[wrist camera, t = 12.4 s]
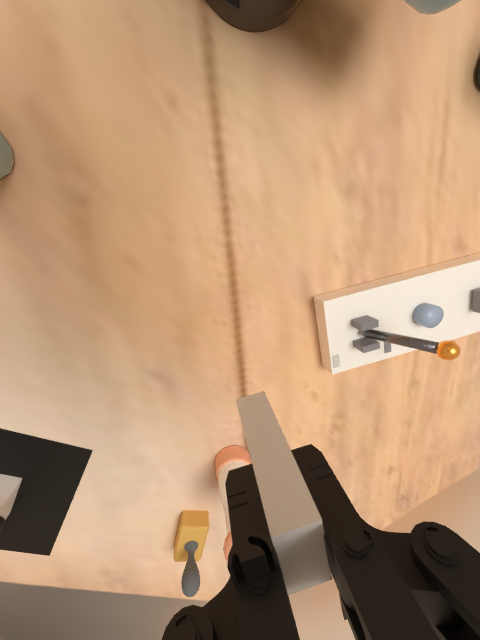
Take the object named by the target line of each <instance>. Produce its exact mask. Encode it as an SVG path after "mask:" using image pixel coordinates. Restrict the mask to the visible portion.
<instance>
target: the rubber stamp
mask: <svg viewBox="0 0 480 640" xmlns="http://www.w3.org/2000/svg"><path fill="white" fill-rule="evenodd" d="M208 529H209V518H208V512H207V511H183V512H182V514H181V518H180V522H179V527H178V531H177V536H176V540H175V546H174V561H175V562H182V561H187V563H186V566H185V569H184V572H183V575H182V590H183V593H184V595H186V596H187V597H193V596H194V595H195V594H196V593H197V591H198V589H199V586H200V575H199V570H198V567H197V565H196V562H195V561H199V560H200V559H201V556H202V552H203V548H204V544H205V541H206V537H207V533H208Z"/></svg>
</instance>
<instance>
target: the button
mask: <svg viewBox="0 0 480 640" xmlns="http://www.w3.org/2000/svg"><path fill="white" fill-rule="evenodd" d="M443 316H444V312H443V309H442V308H441V307H440V306H437V305H433V304H429V303H423V304H421V305H419V306H418V307H417V308H416V310H415V312H414V315H413V318H414V321H415V322H416V323H417V324H419V325H422V326H424V327H427V328H434V327H436V326H437V325H439V324H440V322H441V321H442V319H443Z"/></svg>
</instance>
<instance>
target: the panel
mask: <svg viewBox="0 0 480 640" xmlns="http://www.w3.org/2000/svg"><path fill="white" fill-rule="evenodd" d="M476 289H480V253H476V254H472V255H469V256H465V257H461V258H457V259H453V260H450V261H446V262H442V263H438V264H435V265H431V266H427V267H423V268H419V269H416V270H412V271H408V272H404V273H401V274H397V275H393V276H389V277H385V278H382V279H378V280H374V281H370V282H367V283H363V284H359V285H355V286H351V287H348V288H344V289H340V290H336V291H333V292H329V293H325V294H321V295H317V296H314V297H313V299H314V306H315V314H316V321H317V329H318V336H319V344H320V351H321V358H322V365H323V366H324V367H325V368H326V369H327V370H328V371H329V372H330V373H331V374H336V373H339V372H342V371H346V370H349V369H353V368H356V367H359V366H363V365H366V364H370V363H373V362H377V361H380V360H383V359H387V358H390V357H394V356H397V355H400V354H404V353H407V352H411V351H414V350H418V349H414V348H409V347H405V346H401V345H396V344H392V343H388V342H383V341H379V340H375V339H370V338H366V337H364V336H363V335H362V331H366V330H369V329H374V330H379V331H384V332H389V333H394V334H399V335H404V336H409V337H414V338H419V339H424V340H429V341H434V342H439V343H440V342H442V341H448V340H452V339H455V338H459V337H462V336H465V335H469V334H472V333H476V332H479V331H480V313H477V312H473V311H472V305H473V291H474V290H476ZM423 303H429V304H433V305H437V306H440V307H441V308H442V309H443V312H444V316H443V319H442V321H441V322H440V324H439V325H437V326H436V327H434V328H427V327H424V326H422V325H419V324H417V323H416V322H415V321H414V318H413V315H414V312H415V310H416V308H417V307H418V306H419V305H421V304H423Z"/></svg>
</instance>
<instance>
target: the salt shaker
mask: <svg viewBox="0 0 480 640" xmlns="http://www.w3.org/2000/svg"><path fill="white" fill-rule="evenodd" d="M249 464H251V460H250V456H249V453H248V451H247V450H246V449H245V448H243V447H241V446H228V447H226V448H224V449H222V450H221V451H220V452H219V453H218V454H217V456H216V459H215V468H216V477H217V480H218V482H219V493H220V497H221V501H222V505H223V508H224V512H225V519H226V527H227V537H226V539H225V543H224V548H223V550H224V555H225V558H226V560H227V561H228V555H229V552H230V549H231V547H232V545H233V544H232V536H231V528H230V520H229V512H228V511H229V510H228V503H227V495H226V487H225V482H226V479H227V475H228V472H229V471H230V470H233V469H236V468H239V467H242V466H245V465H249Z"/></svg>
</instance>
